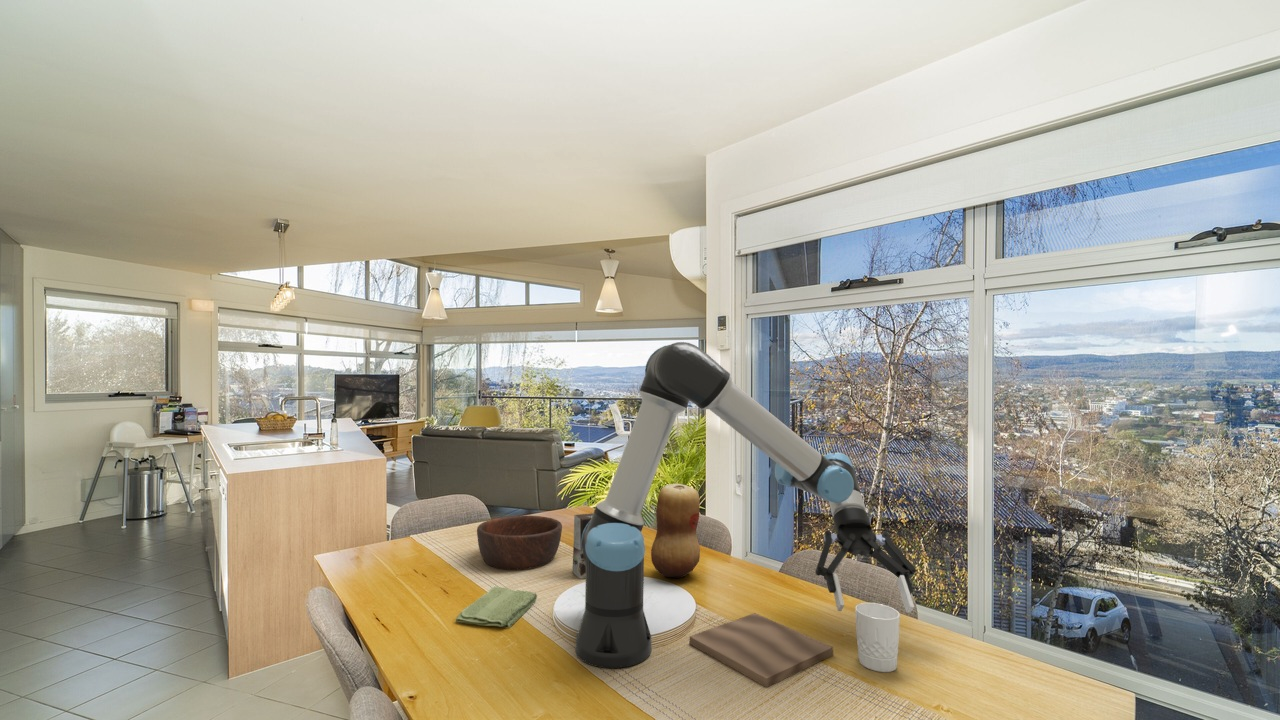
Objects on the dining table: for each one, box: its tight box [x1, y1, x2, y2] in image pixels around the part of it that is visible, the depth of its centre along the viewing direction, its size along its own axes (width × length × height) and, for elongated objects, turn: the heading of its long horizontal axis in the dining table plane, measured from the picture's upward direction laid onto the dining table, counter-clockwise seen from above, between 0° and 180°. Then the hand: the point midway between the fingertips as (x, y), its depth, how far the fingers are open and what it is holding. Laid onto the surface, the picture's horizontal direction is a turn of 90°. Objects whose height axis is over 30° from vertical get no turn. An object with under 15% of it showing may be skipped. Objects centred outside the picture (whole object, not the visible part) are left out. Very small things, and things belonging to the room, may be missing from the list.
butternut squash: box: [650, 483, 701, 579], centre depth 153 cm, size 14×13×25 cm
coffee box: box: [572, 512, 594, 580], centre depth 154 cm, size 9×6×16 cm
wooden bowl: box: [476, 515, 563, 570], centre depth 165 cm, size 25×25×10 cm
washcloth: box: [455, 586, 538, 629], centre depth 127 cm, size 13×18×3 cm
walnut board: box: [689, 612, 834, 688], centre depth 111 cm, size 20×20×2 cm
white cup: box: [854, 602, 901, 673], centre depth 106 cm, size 8×8×10 cm
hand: (875, 609), depth 110 cm, fingers open, 13 cm apart
